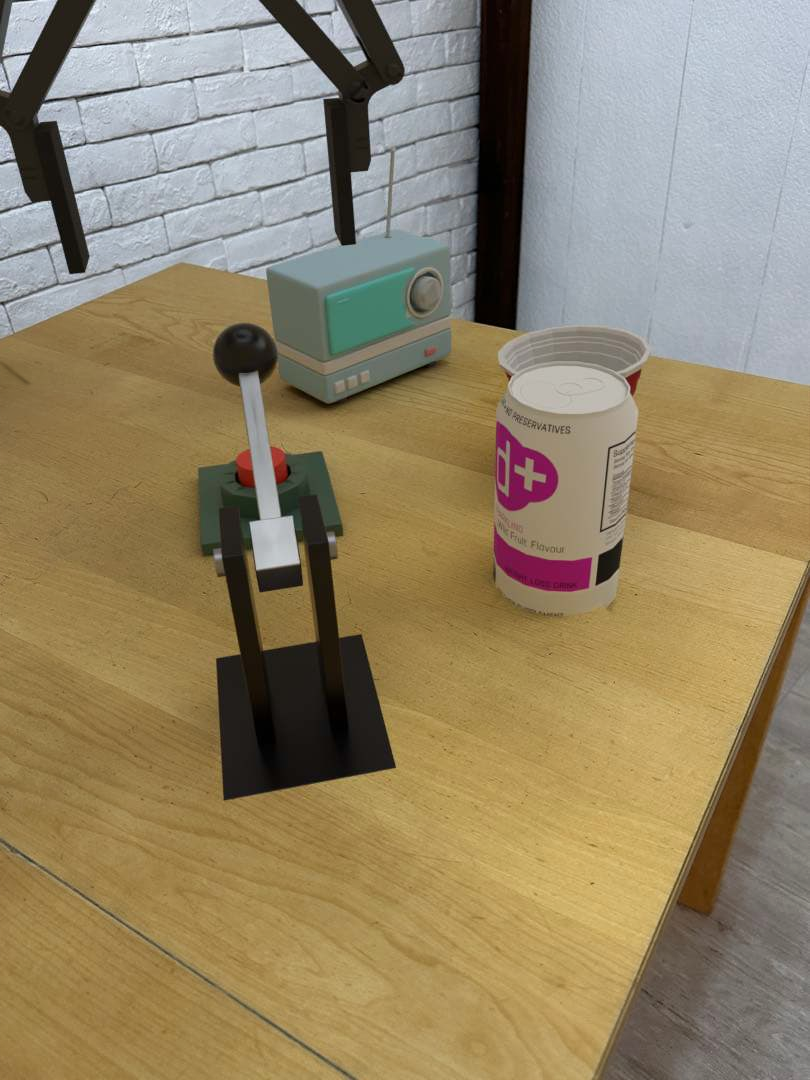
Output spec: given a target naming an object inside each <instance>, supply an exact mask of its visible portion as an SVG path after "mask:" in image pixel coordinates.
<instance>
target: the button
mask: <svg viewBox="0 0 810 1080" xmlns="http://www.w3.org/2000/svg"><path fill="white" fill-rule="evenodd" d="M270 448H271V454H272V460H273V466H274V473H275V479H276V485H278V484H280V483H282V482H284V481H286V479H287V476H288V473H287V466H286V458H285V453H286V452H285V451H284V450H282V449H281V448H279V447H277V446H272V445H270ZM235 460H236V464H237V470H238V476H239V481H240V484H241V485H242V486H243V487H249V488H255V484H254V478H253V471H252V464H251V457H250V450H249V448H247V449H245V450H243V451H241V452H240V453H239V454H238V455H237V456H236V458H235Z"/></svg>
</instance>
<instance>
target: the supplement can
mask: <svg viewBox="0 0 810 1080" xmlns="http://www.w3.org/2000/svg"><path fill="white" fill-rule="evenodd" d="M495 411H496V412H495V457H494V459H495V461H494V464H495V465H494V504H493V505H494V506H493V507H494V510H493V511H494V513H493V554H492V555H493V559H492V560H493V561H492V562H493V564H492V575H493V576H492V577H493V580H494V585H495V588H496V589H497V591H499V593H500V594H501V595H502V596H503V598H504V599H505V600H506V601H508V602H510V603H511V604H514V605H515V606H517V607H518V608H521V609H522V610H523V611H527V612H531V613H535V614H538V615H542V616H548V617H549V616H550V617H573V616H579V615H583V614H588V613H591V612H593V611H595V610H597V609H599V608H601V607H603V606H604V608H606V609H607V608H608V607H609V606H610V604H611V603H612V602H613V601H614V600H615V599H616V598H617V591H618V588H619V587H618V585H619V579H620V571H621V560H622V554H623V546H624V545H623V544H624V537H625V529H626V520H627V513H628V504H629V497H630V496H629V495H630V487H631V480H632V472H633V463H634V454H635V447H636V437H637V429H638V421H639V413H640V411H639V408H638V407H637V404H636V402H635V400H634V398H633V397H632V395H631V393H630V386H629V384H628V382H627V381H626V379H625V378H624V377H622V376H621V375H619V374H618V373H616V372H615V371H613V370H610V369H607V368H605V367H602V366H599V365H595V364H588V363H582V362H549V363H542V364H537V365H534V366H531V367H528V368H525V369H522V370H521V371H519V372H518V373H516V374H515V375H514V376H512V377H511V379H510V382H509V381H508V384H507V388H506V390H505V392H504V393H503V395H502V396H501V398H500V400H499V402H498V405H497V407H496V409H495Z"/></svg>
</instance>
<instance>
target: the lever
mask: <svg viewBox="0 0 810 1080" xmlns="http://www.w3.org/2000/svg"><path fill="white" fill-rule="evenodd" d="M212 359H213V364H214V366H215V369H216V370H217V372H218V374H219V375H220V377H222V378H223V379H224V380H225V381H226V382H228V383H229V384H231V385H233V386H236V387H239V389H240V395H241V402H242V409H243V417H244V422H245V430H246V436H247V443H248V449H249V450H250V457H251V464H252V471H253V478H254V484H255V491H256V498H257V505H258V511H259V518H260V520H257V521H250V522H249V529H250V537H251V544H252V549H251V550H252V557H253V564H254V570H255V577H256V582H257V587H258V591H259V593H265V592H271V591H278V590H284V589H291V588H297V587H303V586H304V580H303V579H304V577H303V569H302V561H301V556H300V549H299V542H297V536H296V530H295V524H294V518H293V516H292V515H291V516H284V517H282V516H281V510H280V504H279V497H278V491H277V485H276V479H275V473H274V466H273V460H272V454H271V448H270V446H271V441H270V436H269V429H268V424H267V417H266V411H265V405H264V398H263V393H262V386H261V384H263V383H265V382H266V381H267V380H269V379H270V378H271V376H272V375H273V374H274V372H275V370H276V367H277V365H278V361H277V359H278V352H277V348H276V344H275V340H274V338H273V337H272V335H271V334H270V333H269V332H268V331H267V330H266V329H264V327H262V326H260V325H258V324H255V323H251V322H245V321H244V322H243V321H241V322H236V323H233V324H231V325H229V326H227V327H225V328H224V329H223V330H222V331H220V333H219V334H218V335H217V337H216V339H215V341H214V345H213V348H212Z"/></svg>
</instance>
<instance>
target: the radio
mask: <svg viewBox="0 0 810 1080" xmlns="http://www.w3.org/2000/svg"><path fill="white" fill-rule="evenodd" d="M396 147H397V146H393V147H391V149H389V151H390V158H389V159H390V160H389V176H388V191H387V192H388V195H387V209H386V210H387V211H386V225H385V227H386V228H385V232H381V233H379V234H374V235H371V236H368V237H364V238H361V239H358V240H357V239H356V244H355V245H346V246H342V245H341V244H340V245H337V246H334V247H330V248H328V249H327V248H326V249H324V250H323V249H322V250H320V251H317V252H312V253H310V254H306V255H304V256H299V257H296V258H293V259H290V260H286V261H283V262H280V263H276V264H273V265H270V266H268V267H266V269H265V275H266V282H267V289H268V298H269V305H270V312H271V313H270V315H271V322H272V328H273V336H274V339H275V340H274V342H275V344H276V348H277V353H278V359H277V368H278V375H279V378H280V380H281V381H282V382H284V383H287V384H288V385H290V386H292V387H294V388H296V389H298V390H299V391H302V392H304V393H306V394H308V395H310V396H312V397H313V398H315V399H317V400H319V401H320V402H323V403H325V404H328V405H329V404H332V403H336V404H341V403H344V402H346V401H347V400H348V397H350V396H353V395H355V394H357V393H360V392H362V391H365V390H368V389H370V388H373V387H374V386H377V385H379V384H380V385H381V384H382V383H384V382H385V383H386V382H387V381H390V380H392V379H394V378H397V377H400V376H402V375H404V374H406V373H409V372H412V371H414V370H416V369H418V368H421V367H432V366H434V365H436V361H438V360H441V359H444V358H446V357H448V356H450V354H452V329H451V328H452V316H451V314H452V292H451V291H452V279H451V277H452V275H451V271H452V270H451V269H452V268H451V246H450V245H449V244H448V243H445V242H442V241H438V240H434V239H431V238H428V237H425V236H422V235H419V234H415V233H412V232H409V231H405V230H401V229H392V230H391V220H392V219H391V218H392V203H393V187H394V172H395V171H394V170H395V155H396V154H395V153H396V152H397V149H396Z"/></svg>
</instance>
